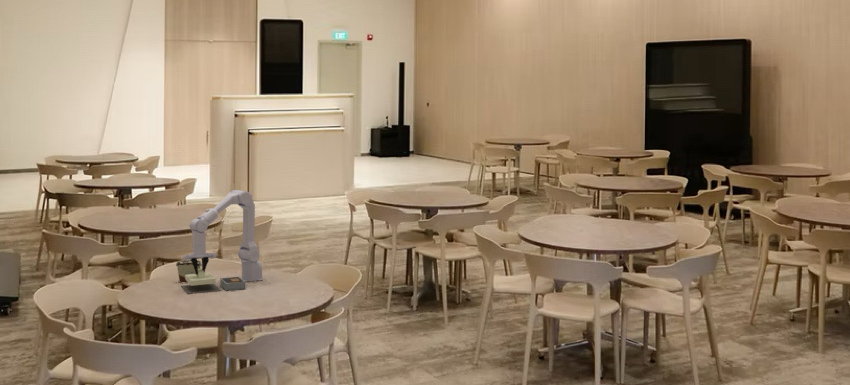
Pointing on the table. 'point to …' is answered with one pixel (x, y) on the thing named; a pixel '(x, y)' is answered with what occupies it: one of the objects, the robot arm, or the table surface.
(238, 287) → the storage box
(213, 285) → the rubber mat
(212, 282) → the lid
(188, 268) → the food container
